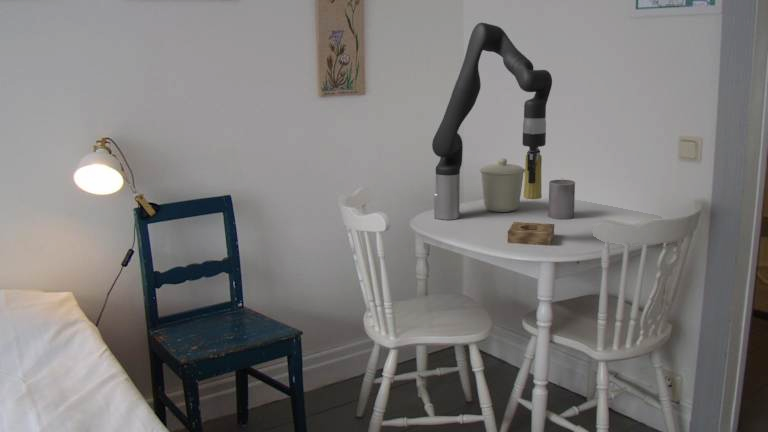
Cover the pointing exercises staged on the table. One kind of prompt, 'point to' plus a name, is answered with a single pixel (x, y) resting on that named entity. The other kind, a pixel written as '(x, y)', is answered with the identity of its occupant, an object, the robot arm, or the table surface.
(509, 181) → the canister
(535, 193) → the vase
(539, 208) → the table surface
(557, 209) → the pillar candle
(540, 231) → the socket block
